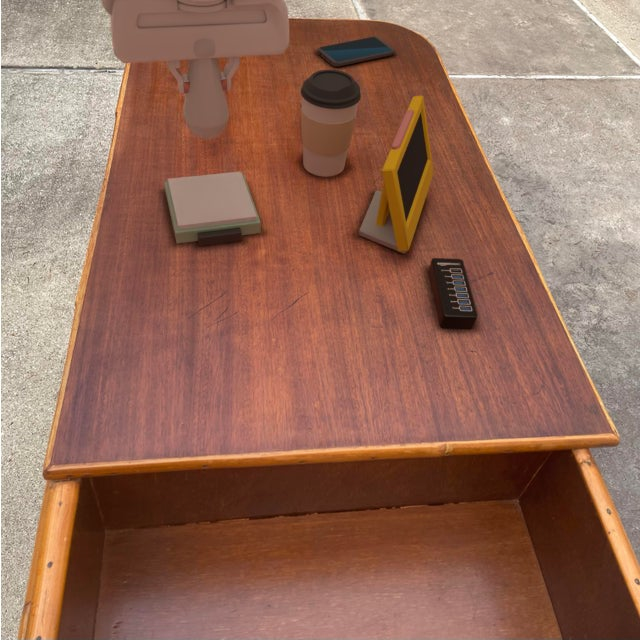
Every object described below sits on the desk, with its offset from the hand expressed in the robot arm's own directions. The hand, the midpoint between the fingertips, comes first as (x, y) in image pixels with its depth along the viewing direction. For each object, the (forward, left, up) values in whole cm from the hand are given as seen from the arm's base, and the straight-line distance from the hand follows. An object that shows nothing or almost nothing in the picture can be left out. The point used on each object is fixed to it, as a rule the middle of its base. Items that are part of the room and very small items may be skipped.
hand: (205, 90), depth 79 cm
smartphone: (+38, +47, -20) cm, 64 cm away
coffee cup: (+20, +10, -20) cm, 31 cm away
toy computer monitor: (+26, -6, -20) cm, 34 cm away
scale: (0, +1, -20) cm, 20 cm away
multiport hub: (+28, -23, -20) cm, 41 cm away
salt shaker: (0, 0, -6) cm, 6 cm away
